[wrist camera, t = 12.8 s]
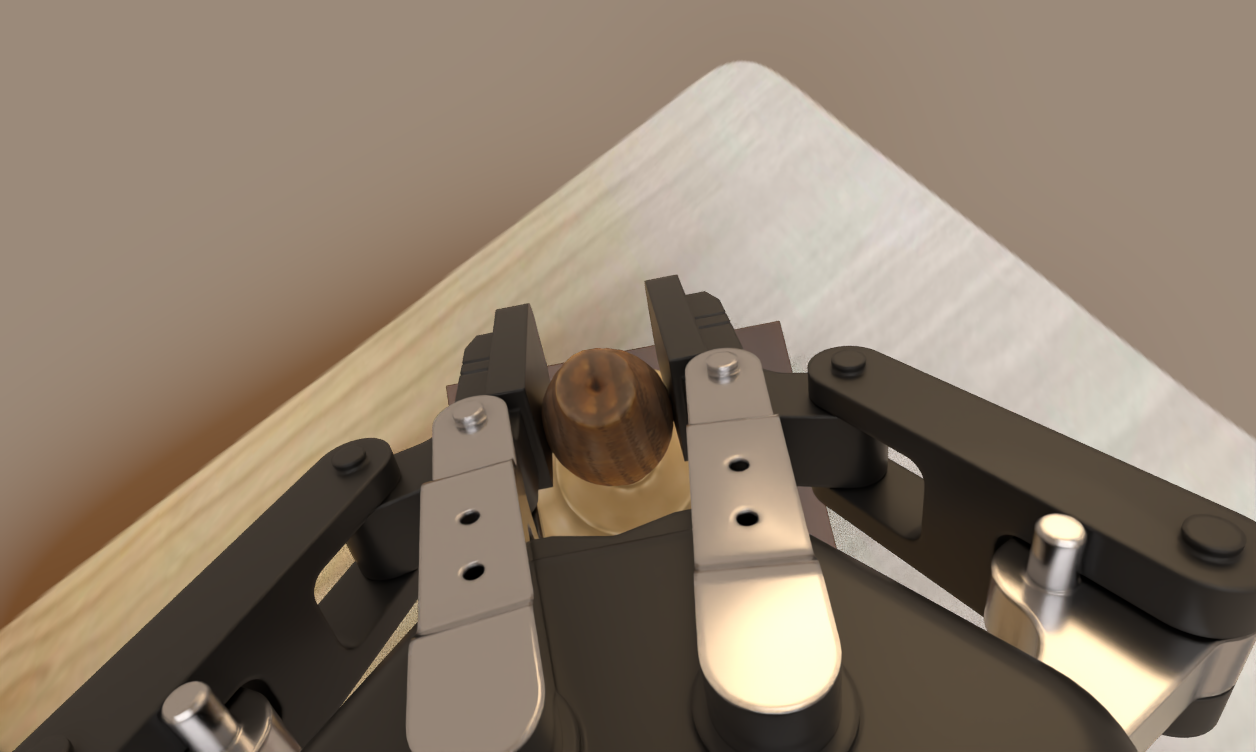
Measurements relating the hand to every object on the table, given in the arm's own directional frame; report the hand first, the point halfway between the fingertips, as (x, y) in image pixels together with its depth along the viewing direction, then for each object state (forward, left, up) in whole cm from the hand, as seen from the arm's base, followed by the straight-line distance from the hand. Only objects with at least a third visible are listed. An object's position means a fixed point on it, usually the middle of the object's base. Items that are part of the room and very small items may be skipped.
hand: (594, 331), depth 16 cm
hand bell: (0, -2, -12) cm, 12 cm away
